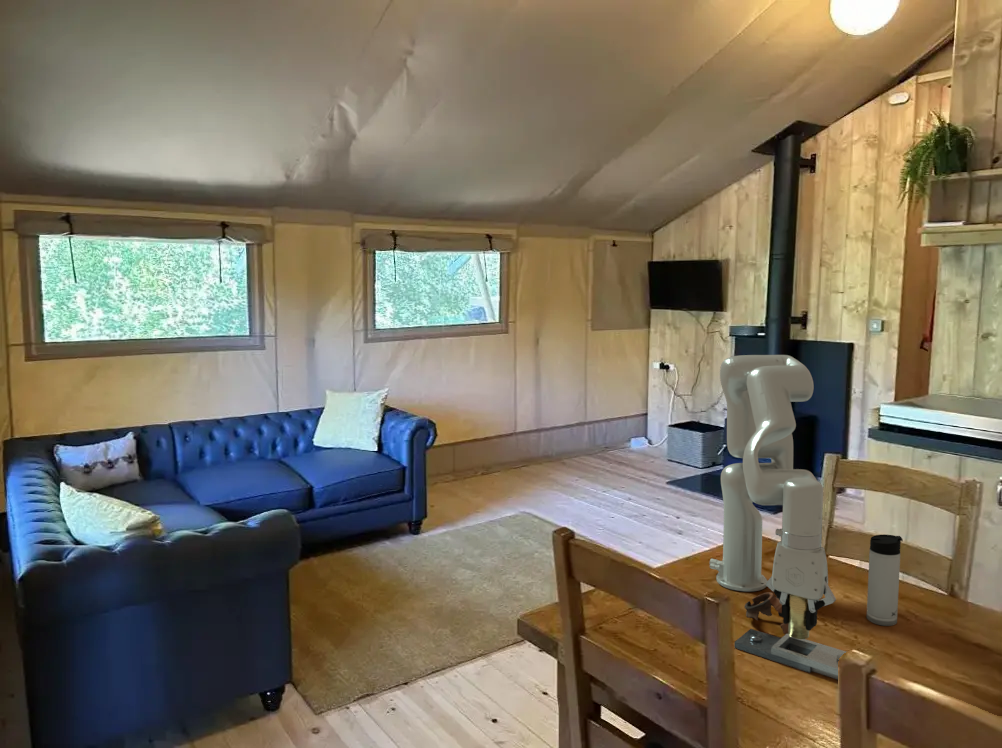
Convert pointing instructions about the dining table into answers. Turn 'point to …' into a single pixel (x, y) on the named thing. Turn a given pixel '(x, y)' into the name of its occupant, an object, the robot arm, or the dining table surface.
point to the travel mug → (883, 579)
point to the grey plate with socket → (778, 650)
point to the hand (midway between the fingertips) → (798, 624)
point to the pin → (798, 617)
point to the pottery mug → (765, 607)
